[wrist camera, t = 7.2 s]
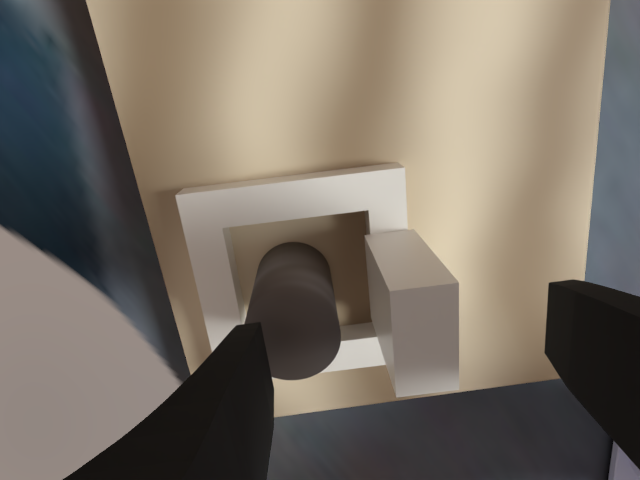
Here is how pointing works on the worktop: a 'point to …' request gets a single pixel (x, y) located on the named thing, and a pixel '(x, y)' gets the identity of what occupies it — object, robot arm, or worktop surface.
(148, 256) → the worktop surface
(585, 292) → the robot arm
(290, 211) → the collar
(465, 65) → the board
